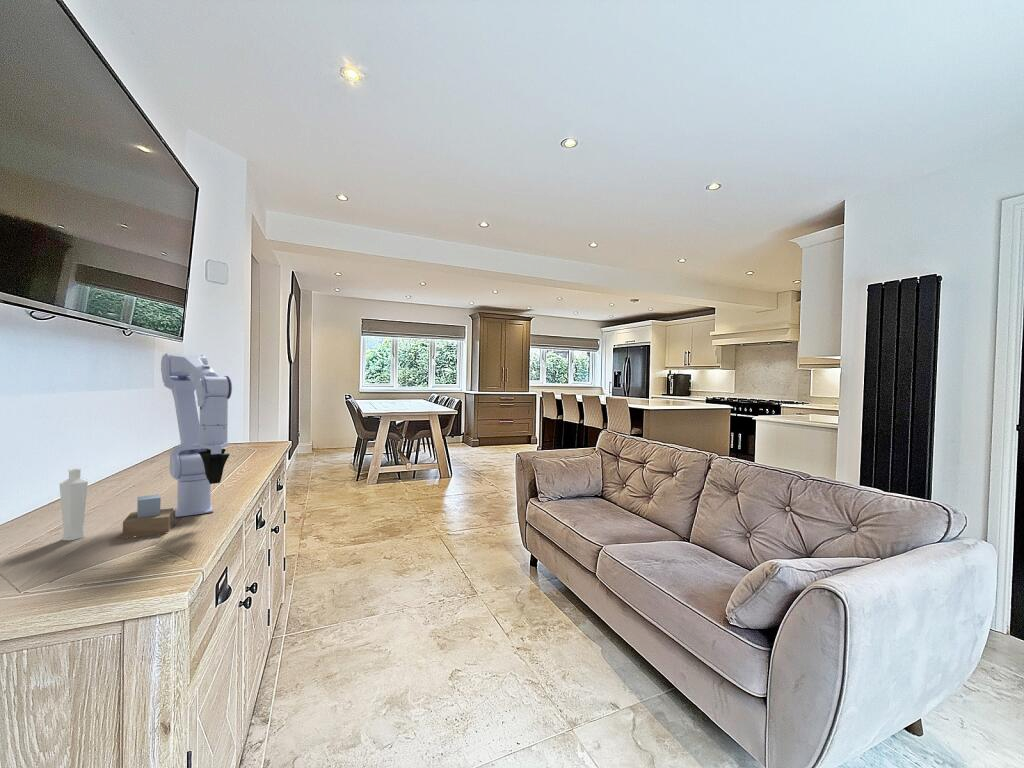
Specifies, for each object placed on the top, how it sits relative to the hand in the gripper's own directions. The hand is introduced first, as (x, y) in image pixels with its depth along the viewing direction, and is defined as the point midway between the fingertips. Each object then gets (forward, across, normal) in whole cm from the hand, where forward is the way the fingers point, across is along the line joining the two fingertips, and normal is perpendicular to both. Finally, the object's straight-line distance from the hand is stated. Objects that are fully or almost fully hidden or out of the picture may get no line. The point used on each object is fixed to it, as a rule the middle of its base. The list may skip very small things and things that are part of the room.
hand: (213, 480), depth 108 cm
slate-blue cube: (+7, -3, -12) cm, 14 cm away
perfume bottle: (+10, -6, -25) cm, 28 cm away
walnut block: (+11, -3, -12) cm, 16 cm away
